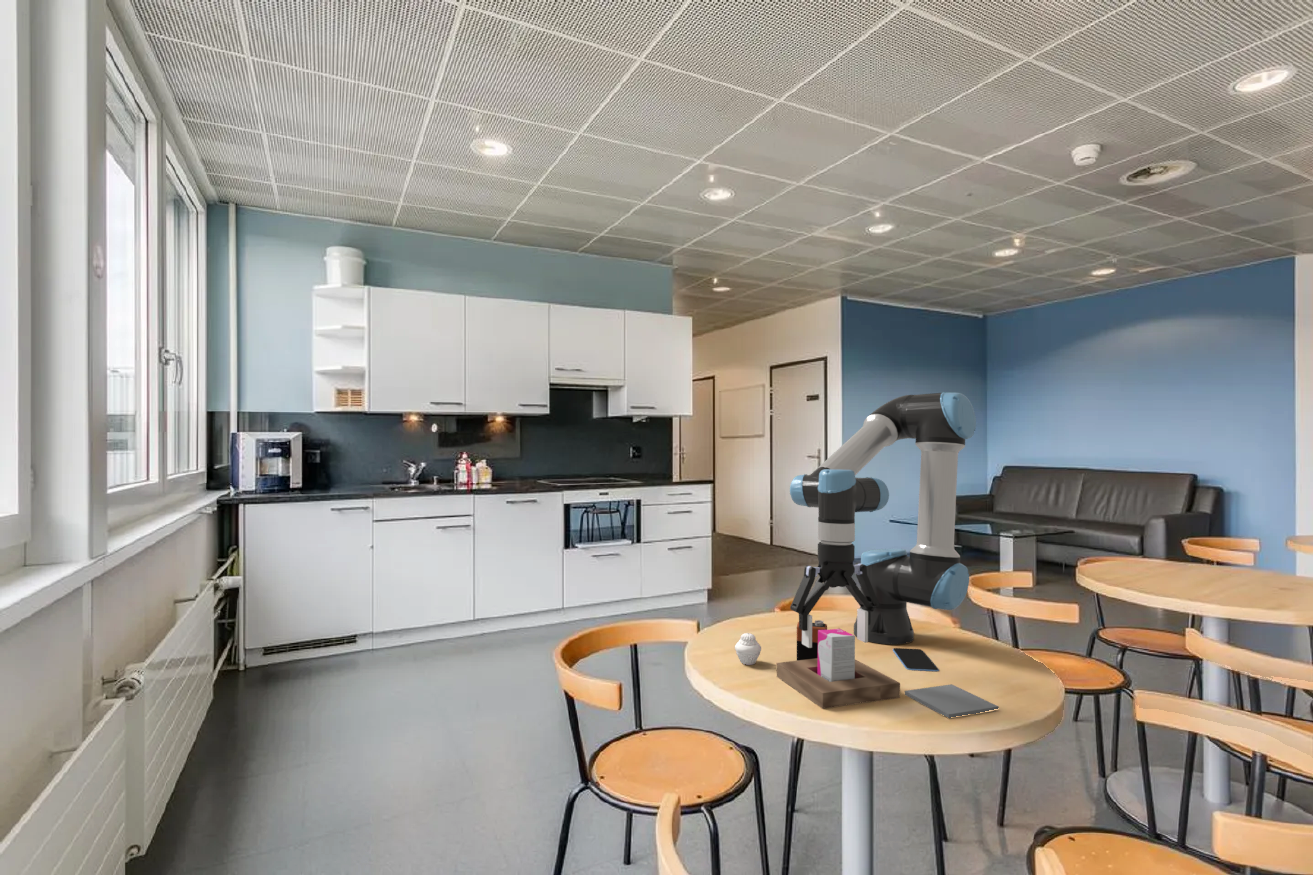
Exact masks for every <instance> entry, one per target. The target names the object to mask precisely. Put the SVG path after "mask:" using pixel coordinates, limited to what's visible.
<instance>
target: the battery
mask: <svg viewBox="0 0 1313 875" xmlns="http://www.w3.org/2000/svg"><path fill="white" fill-rule="evenodd" d="M796 624H797V625H796V661H798V660H807V659H815V658H818V630H828V624H827V623H824V620H820V619H816V620H815V621H814V622H812V648H808V647H806V646H805V645H803V644H802V630H801V629H800V628H799V621H797V623H796Z"/></svg>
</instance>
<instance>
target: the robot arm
mask: <svg viewBox="0 0 1313 875" xmlns="http://www.w3.org/2000/svg"><path fill="white" fill-rule="evenodd" d="M976 418H977V417H976V413H975V409H974V406H973V405H972V402H971V401H970V399H969V398H968V397H967V396H966V395H965V394H964V393H961V392H945V391H943V392H936V393H932V392H931V393H919V394H905V395H902V396H898V397H895V398H894V399H891V400H890V401H888V402H886V403H884V404H882V405H881V406H880V407H878V408H877V409H875V410H874V411H873V412H872V413H870V414H869V415H868V416H867V417H866V418H865V419H864V420H863V425H862V426H861V428H860V429H858V430H857V431H856V432H855V433H854V434H853V435H852V436H851V437H850V438H849V439H848V440H846V442H844V443H843V444H842V445H841V446H840V447H839V448H838V449H836V451H835V452H833V453H832V454H831V455H830V456H829V457H828V458H827V459H826V460H825V461H824V462H822V463H821V464H820V465H819V466H818V467H817V468H816V469H815V470H814V471H812V473H810V474H805V473H804V474H799V475H796V476H795V477H794V478H793V479H792V481H791V482H790V486H789V494H790V498H791V500H792V501H793V503H795V504H796V505H797V506H802V507H807V508H815V509H816V508H817V510H818V518H817V519H818V520H817V529H818V530H817V539H818V540H819V542H818V543H817V559H818V564H817V566H811V565H805V566H804V569H803V570H804V571H803V577H802V579H801V581H800V584H799V586H798V588H797V591H796V593H795V595H794V598H793V600H792V601H791V604H790V606H789V608H790V610H791V611H793V612H795V613H797V614H798V622H799V628H800V629H801V630H802V644H803V645H805V646H806V647H808V648H812V623H813V615H811V614H810V613H811V611H812V610H813V609H814V607H815V606H816V605H817V603H818V601H819V600H820V599H821V597H822V596H823V594H824V593H825V592H826V591H828V590H829V589H830V588H833V589H834V588H837V587H840V588H845V589H847V590H848V592H849V593H850V595H851V596H852V597H853V599H854V600H855V601H856V603H857V605H859V608H857V609H856V612H857V613H856V614H857V615H856V619H855V622H854V623H853V635H854V636H855V638H856V639H857V640H859V641H861V642H862V643H868V642H871V643H874V644H875V643H877V644H881V645H905V644H910V643H912V642H913V641H914V638H915V637H914V636H915V635H914V628H913V626H912V621H911V618H910V614H909V612H908V609H907V607H908V606H907V603H909V604H914V605H918V606H924V607H930V608H932V609H934V610H937V609H939V610H946V611H952V610H955V609H956V608H958V607H959V606H961V604H962V602H963V601H964V600H965V598H966V596H967V593H968V589H969V584H970V574H969V568H968V567H967V566H966V565H964V564H963V563H961V555H960V554H959V553H958V552H957V550H955V527H956V526H955V525H956V507H957V506H956V505H957V504H956V503H957V482H958V481H957V480H958V462H959V461H958V460H959V452H961V451H962V450H963V449H964V448H966V440H968V439H970V438H973V436H974V434H975V431H976V427H977V419H976ZM905 439H915V443H914V445H915V446H916V447H917V448H918V449H919V450H920V454H921V455H920V470H919V491H918V492H919V493H918V511H917V514H918V515H917V532H916V544H915V545H914V546H913V547H912V548H911V549H910V551H909V556H908V552H907V550H906V549H903V548H881V549H872V550H866V551H864V552H862V554H861V557H860V563H859V562H855V564H854V561H855V553H856V552H855V550H856V548H855V545H854V544H853V543H854V542H855V540H856V535H855V534H856V528H855V527H856V526H855V522H856V520H855V518H856V517H855V516H856V515H855V514H856V513H863V512H865V513H866V512H869V513H873V512H877V511H880V510H882V509H883V508H885V507H886V506H887V504H888V501H889V498H890V492H889V488H888V486H887V484H886V483H885V482H884V481H882V479H879V478H876V477H872V476H870V477H868V476H866V477H856V475H857V474H858V473H859V472H861V470H862V469H863V468H864V467H865V466H866V465H868V463H869V462H870V461H872V460H873V459H874V458H875V457H876V456H877V455H878V454H879V452H881V451H882V450H883V449H884V448H885V447H890V446H892V445H894V444H895V443H896V442H897V441H899V440H905ZM854 574H855V576H856V578H857V580H858V584H859V586H860V588H859V587H858V585H857V582H855V580H854V579H853V577H852V576H853V575H854ZM816 577H818V578H817V579H816ZM815 579H816V581H815Z"/></svg>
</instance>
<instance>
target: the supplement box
mask: <svg viewBox="0 0 1313 875" xmlns="http://www.w3.org/2000/svg"><path fill="white" fill-rule="evenodd" d="M855 657H856V636H855V635H854V634H852V633H850V632H848V631H846V630H843V629H841V628H833V629H827V630H818V665H817V674H818V675H819V676H821V677H823V678H824V679H826V680H828V681H829V682H833V681H841V680H848V679H855V660H856V658H855Z"/></svg>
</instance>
